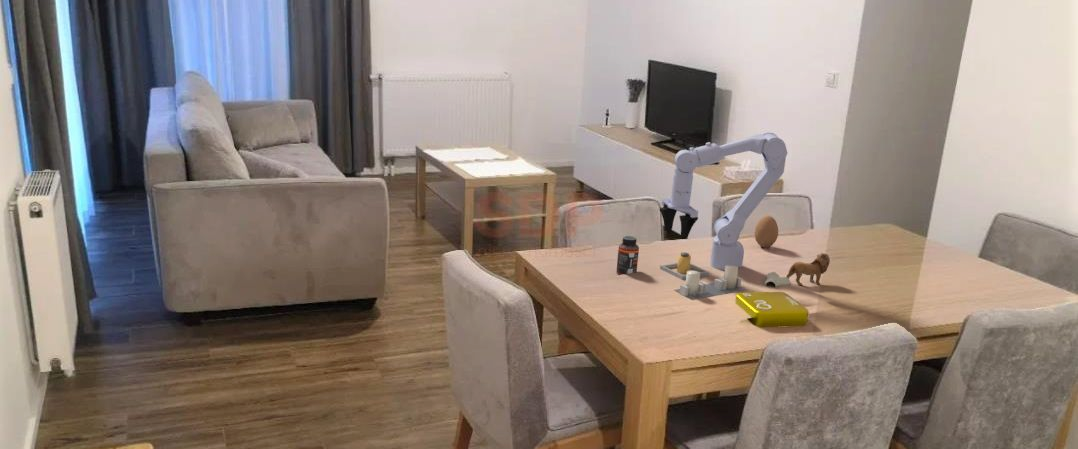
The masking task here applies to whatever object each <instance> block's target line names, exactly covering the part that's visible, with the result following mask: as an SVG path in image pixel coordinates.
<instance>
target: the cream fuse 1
mask: <svg viewBox="0 0 1078 449" xmlns="http://www.w3.org/2000/svg"><path fill="white" fill-rule="evenodd" d="M685 275H686V279H685V284H684V285H685V286H687V287H689V290H688V295H691V296H696V295H698V288H699V283H700V280H701V279H700V278H701V276H700V272H698V271H696V270H690V271H687V274H685Z"/></svg>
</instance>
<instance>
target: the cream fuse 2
mask: <svg viewBox="0 0 1078 449" xmlns="http://www.w3.org/2000/svg"><path fill="white" fill-rule="evenodd" d="M738 273H739V267H738V266H736V265H730V264H729V265H725V270H724V273H723V279H725V280H727V288H728V289H734V288H736V281H737V276H738Z"/></svg>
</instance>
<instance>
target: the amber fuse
mask: <svg viewBox="0 0 1078 449" xmlns="http://www.w3.org/2000/svg"><path fill="white" fill-rule="evenodd" d="M677 257H678V258H677V263H678V266H677V267H676V269H677V270H676V272H677V273H679V274H681V275H687V271H691V270H690V269H691V268H690V263H691V261H692V260H691V259H692V255H691V254H689V252H683V251H682V252H680V254H678V256H677Z"/></svg>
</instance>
